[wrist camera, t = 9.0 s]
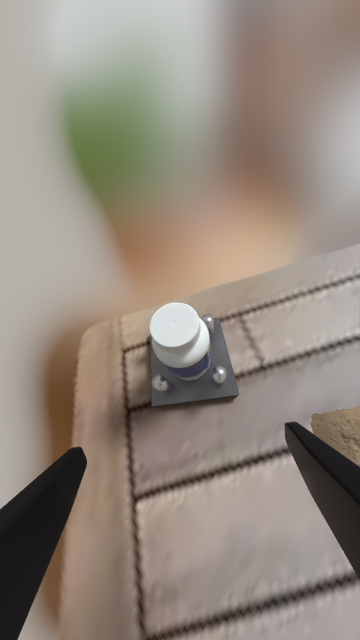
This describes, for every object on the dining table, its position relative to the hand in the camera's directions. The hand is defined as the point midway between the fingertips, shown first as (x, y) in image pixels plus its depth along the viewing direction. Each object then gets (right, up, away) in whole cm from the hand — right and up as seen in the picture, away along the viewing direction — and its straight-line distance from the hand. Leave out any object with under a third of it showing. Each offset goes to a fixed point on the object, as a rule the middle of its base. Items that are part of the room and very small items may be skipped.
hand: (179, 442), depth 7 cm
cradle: (+1, 0, +15) cm, 15 cm away
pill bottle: (+1, 0, +14) cm, 14 cm away
